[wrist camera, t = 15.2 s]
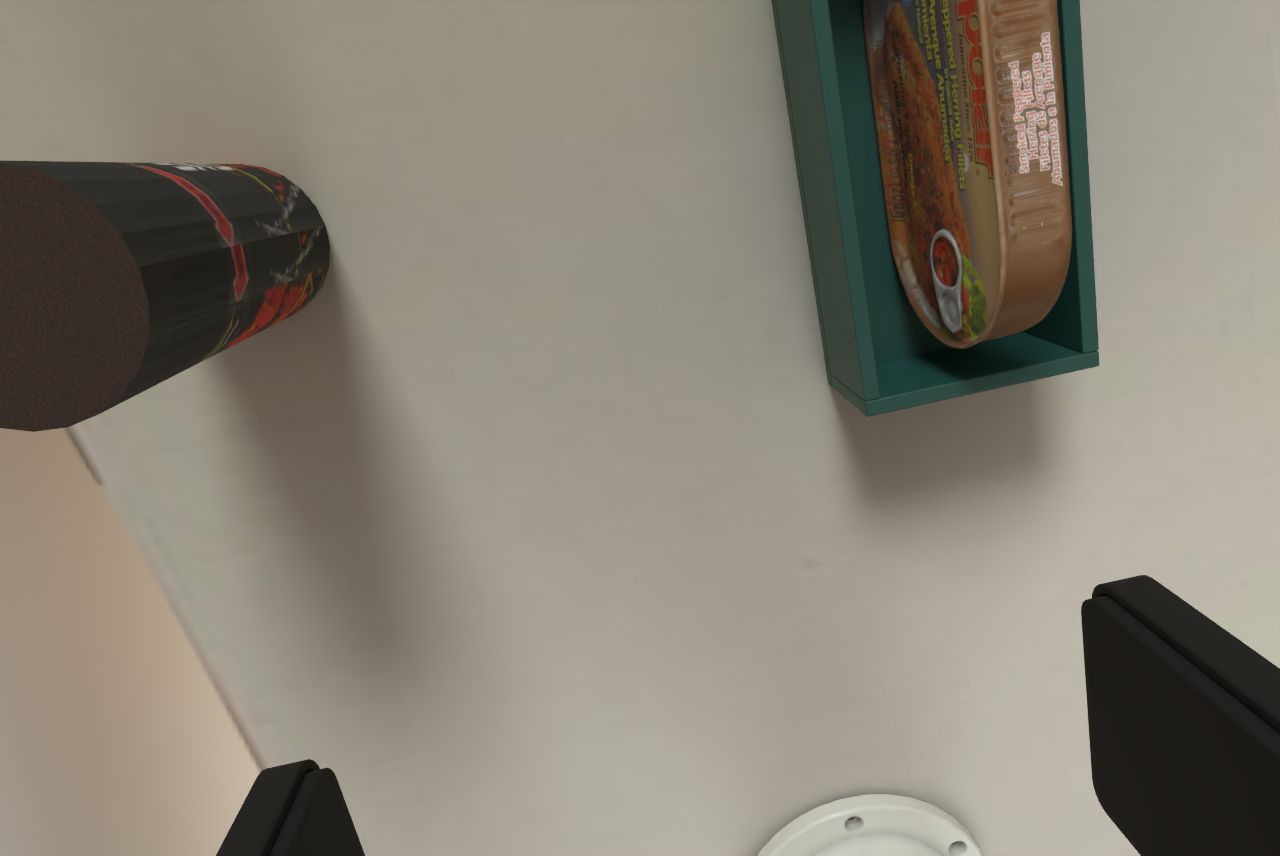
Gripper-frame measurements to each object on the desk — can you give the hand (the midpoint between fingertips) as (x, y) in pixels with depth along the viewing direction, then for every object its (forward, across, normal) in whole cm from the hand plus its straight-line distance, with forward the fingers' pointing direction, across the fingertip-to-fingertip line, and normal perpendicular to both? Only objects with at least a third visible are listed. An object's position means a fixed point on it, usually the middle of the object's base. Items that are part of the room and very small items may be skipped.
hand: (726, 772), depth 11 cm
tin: (+26, -13, -6) cm, 29 cm away
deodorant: (+26, +13, -7) cm, 30 cm away
